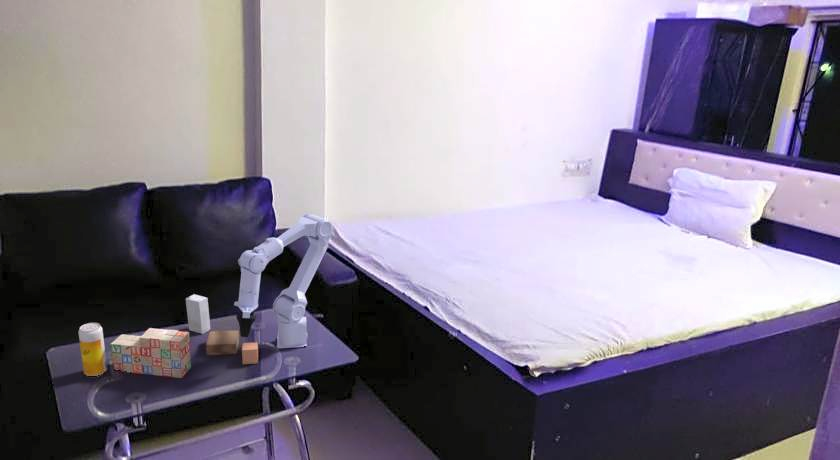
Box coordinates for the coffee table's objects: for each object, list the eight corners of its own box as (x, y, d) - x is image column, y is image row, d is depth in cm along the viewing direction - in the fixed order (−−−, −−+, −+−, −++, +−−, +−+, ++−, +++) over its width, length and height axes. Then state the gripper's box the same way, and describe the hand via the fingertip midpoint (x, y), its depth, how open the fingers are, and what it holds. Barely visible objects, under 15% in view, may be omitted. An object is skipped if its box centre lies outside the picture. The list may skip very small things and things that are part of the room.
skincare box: (211, 329, 209) (209, 297, 205) (201, 335, 205) (199, 302, 201) (197, 325, 211) (194, 293, 207) (187, 330, 207) (185, 298, 203)
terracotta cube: (258, 356, 194) (257, 342, 192) (257, 363, 190) (257, 349, 188) (243, 357, 193) (242, 342, 192) (242, 364, 189) (242, 350, 187)
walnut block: (239, 341, 203) (238, 330, 202) (236, 354, 195) (235, 343, 193) (210, 342, 201) (210, 331, 200) (206, 356, 193) (206, 344, 192)
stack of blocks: (113, 371, 182) (108, 334, 178) (124, 360, 187) (120, 324, 184) (182, 378, 180) (179, 341, 176) (192, 367, 186) (189, 331, 182)
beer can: (85, 368, 182) (79, 323, 177) (108, 365, 184) (102, 321, 179) (82, 379, 177) (76, 333, 172) (106, 376, 179) (100, 330, 174)
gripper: (237, 281, 192) (233, 322, 194) (233, 296, 178) (229, 340, 181) (260, 283, 193) (256, 323, 196) (258, 298, 180) (254, 341, 182)
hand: (245, 331), depth 188 cm, fingers open, 7 cm apart
